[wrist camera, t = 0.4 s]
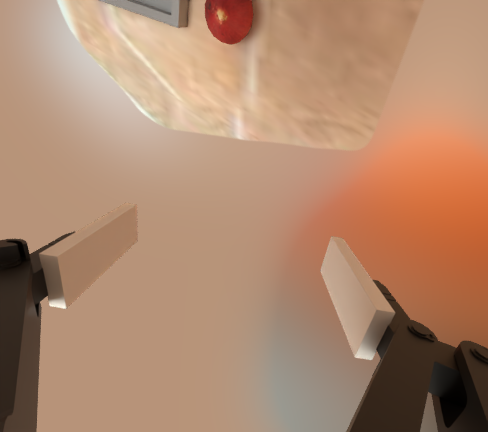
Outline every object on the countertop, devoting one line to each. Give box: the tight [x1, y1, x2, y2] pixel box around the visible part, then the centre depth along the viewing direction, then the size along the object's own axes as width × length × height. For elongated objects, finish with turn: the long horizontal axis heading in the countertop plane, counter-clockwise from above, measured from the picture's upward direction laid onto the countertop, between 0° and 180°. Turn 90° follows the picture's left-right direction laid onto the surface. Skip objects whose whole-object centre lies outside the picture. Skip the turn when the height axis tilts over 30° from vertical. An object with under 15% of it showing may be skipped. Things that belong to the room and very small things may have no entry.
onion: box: [205, 0, 253, 44], centre depth 29 cm, size 6×6×8 cm
